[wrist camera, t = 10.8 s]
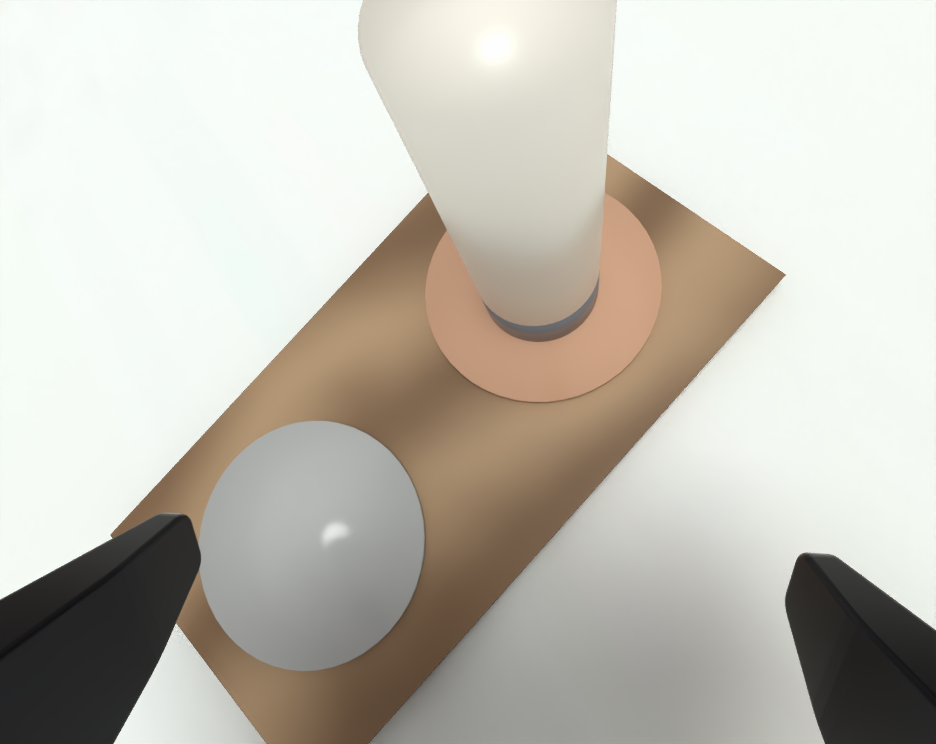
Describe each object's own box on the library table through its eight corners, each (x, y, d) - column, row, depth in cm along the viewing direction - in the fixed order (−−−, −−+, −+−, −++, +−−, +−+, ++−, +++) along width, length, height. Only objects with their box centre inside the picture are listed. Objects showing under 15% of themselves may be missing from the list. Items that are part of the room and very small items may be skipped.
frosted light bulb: (616, 252, 22) (656, -81, 9) (573, 358, 21) (557, 151, 9) (508, 220, 23) (418, -115, 11) (465, 319, 22) (317, 89, 10)
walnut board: (778, 282, 22) (786, 274, 21) (323, 794, 21) (313, 805, 20) (521, 107, 25) (519, 95, 25) (125, 534, 24) (110, 534, 24)
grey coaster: (476, 535, 21) (473, 536, 21) (305, 725, 21) (300, 729, 20) (316, 376, 24) (312, 374, 23) (163, 542, 23) (156, 543, 23)
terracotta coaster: (712, 272, 21) (714, 268, 21) (549, 453, 21) (549, 452, 21) (530, 145, 24) (529, 139, 24) (383, 304, 24) (380, 300, 23)
